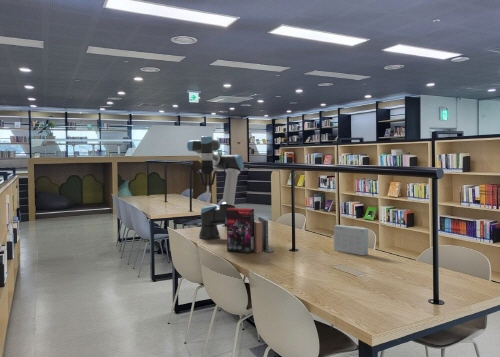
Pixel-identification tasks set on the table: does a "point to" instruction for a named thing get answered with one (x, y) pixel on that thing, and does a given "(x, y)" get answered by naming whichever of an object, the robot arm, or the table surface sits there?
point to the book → (258, 236)
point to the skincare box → (351, 239)
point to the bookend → (265, 235)
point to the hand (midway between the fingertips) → (207, 195)
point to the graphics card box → (240, 230)
